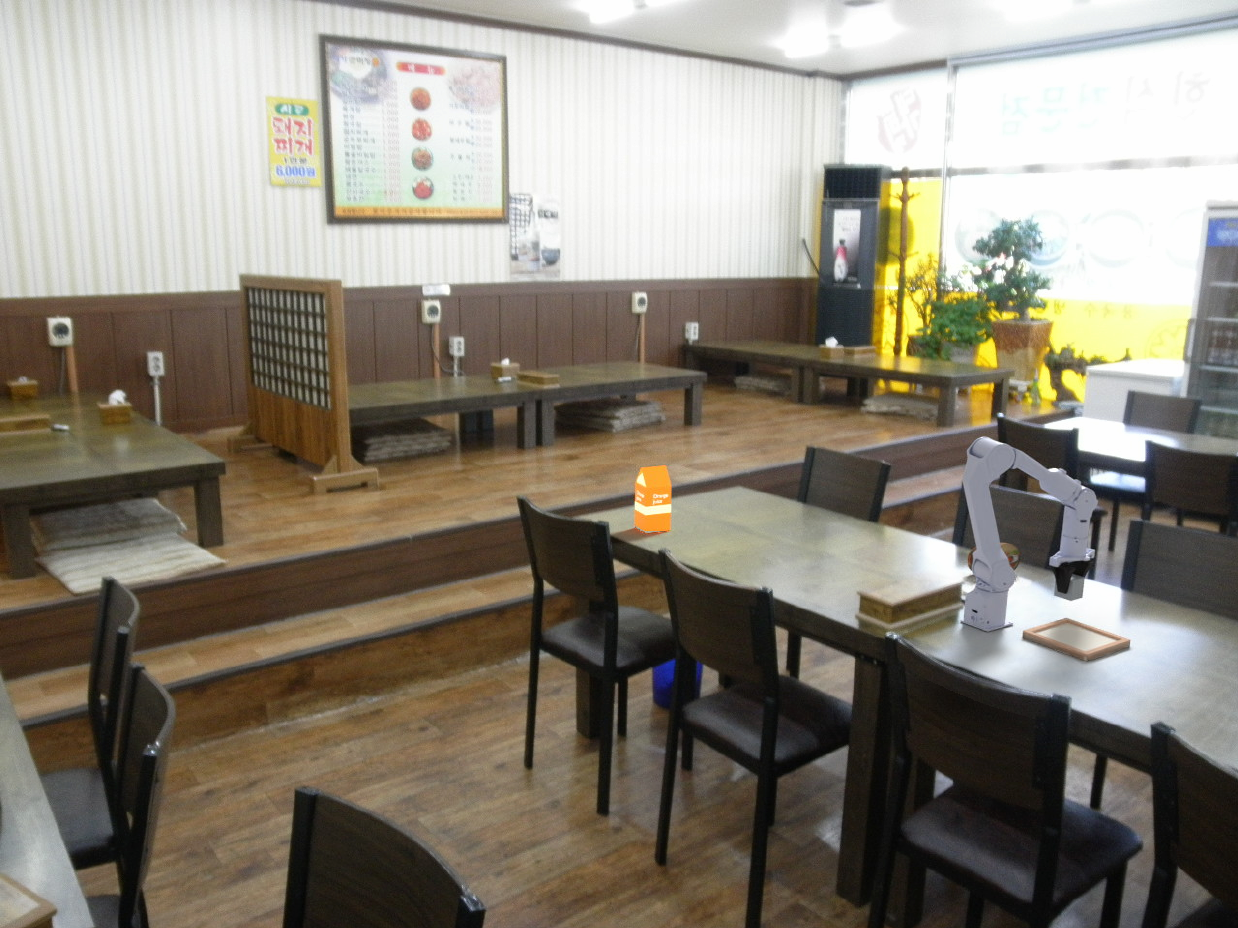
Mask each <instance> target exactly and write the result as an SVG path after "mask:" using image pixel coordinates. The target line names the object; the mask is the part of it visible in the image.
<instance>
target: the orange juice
mask: <svg viewBox="0 0 1238 928" xmlns="http://www.w3.org/2000/svg"><path fill="white" fill-rule="evenodd" d="M634 483H635V484H634V486H635V488H634V489H635V490H634V492H635V493H634V526H635V525H636V526H637V527H639V528H640V529H642V530H644V531H667V532H671V531H670V530H672V529H671V528H672V527H671V526H672V522H671V521H672V482H671V479H670V475H669V471H668V469H667V465H657V466H644V467H641V468H640V470H639V473H638V475H637V477H636V480H635V482H634ZM668 530H669V531H668Z"/></svg>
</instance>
